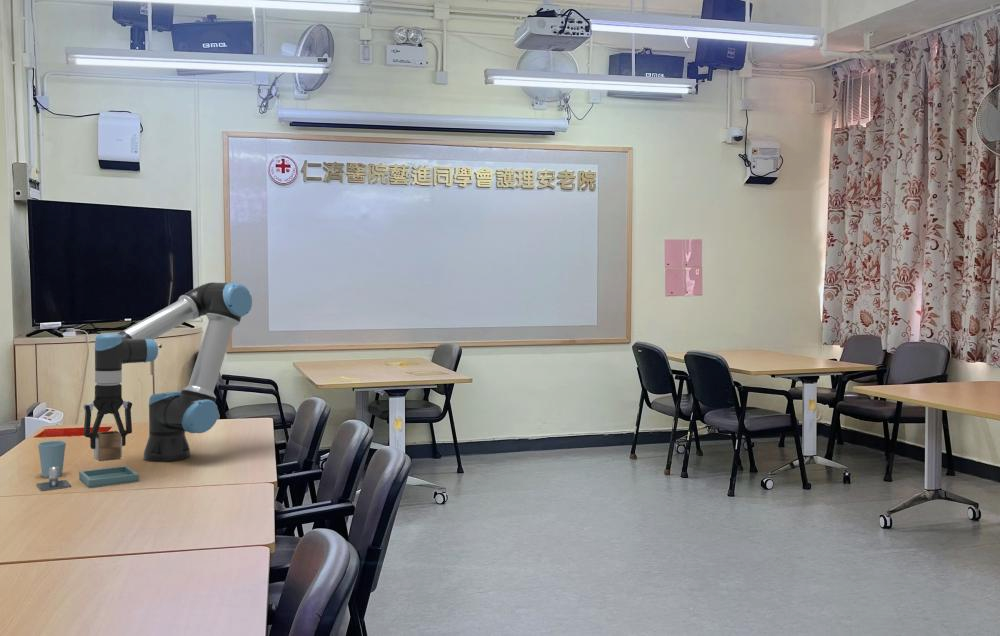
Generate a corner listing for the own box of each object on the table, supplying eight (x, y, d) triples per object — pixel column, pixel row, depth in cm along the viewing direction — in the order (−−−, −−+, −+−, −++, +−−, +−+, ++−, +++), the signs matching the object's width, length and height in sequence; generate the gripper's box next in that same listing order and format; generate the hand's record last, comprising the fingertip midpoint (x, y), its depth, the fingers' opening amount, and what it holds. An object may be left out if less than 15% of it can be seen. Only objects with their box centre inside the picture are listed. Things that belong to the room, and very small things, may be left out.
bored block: (116, 455, 254) (116, 430, 254) (120, 459, 249) (120, 433, 249) (95, 457, 250) (95, 432, 250) (99, 461, 246) (99, 435, 245)
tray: (127, 472, 260) (127, 465, 260) (138, 481, 249) (138, 474, 249) (79, 478, 251) (79, 471, 251) (88, 488, 240) (88, 480, 240)
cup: (65, 477, 253) (64, 444, 252) (37, 479, 250) (36, 446, 249) (67, 472, 260) (66, 440, 259) (39, 474, 256) (39, 441, 256)
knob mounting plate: (66, 481, 247) (66, 463, 247) (71, 487, 241) (71, 468, 241) (36, 485, 242) (36, 466, 242) (40, 491, 236) (40, 471, 236)
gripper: (137, 380, 258) (137, 452, 259) (71, 384, 246) (71, 459, 247) (144, 383, 252) (143, 456, 253) (76, 387, 240) (76, 463, 241)
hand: (108, 457), depth 250 cm, fingers closed on bored block, 6 cm apart
